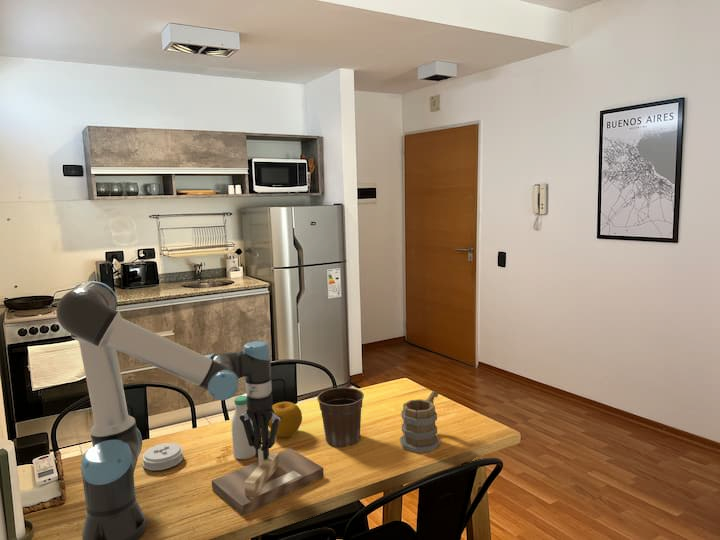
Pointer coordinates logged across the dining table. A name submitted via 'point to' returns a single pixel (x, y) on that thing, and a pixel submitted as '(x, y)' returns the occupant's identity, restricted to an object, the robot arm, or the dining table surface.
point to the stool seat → (283, 481)
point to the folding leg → (261, 475)
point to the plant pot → (341, 415)
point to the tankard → (419, 425)
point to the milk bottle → (241, 431)
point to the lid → (162, 456)
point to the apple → (287, 418)
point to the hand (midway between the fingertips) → (263, 467)
